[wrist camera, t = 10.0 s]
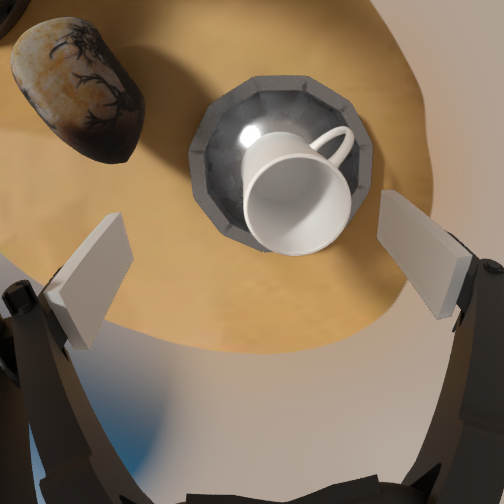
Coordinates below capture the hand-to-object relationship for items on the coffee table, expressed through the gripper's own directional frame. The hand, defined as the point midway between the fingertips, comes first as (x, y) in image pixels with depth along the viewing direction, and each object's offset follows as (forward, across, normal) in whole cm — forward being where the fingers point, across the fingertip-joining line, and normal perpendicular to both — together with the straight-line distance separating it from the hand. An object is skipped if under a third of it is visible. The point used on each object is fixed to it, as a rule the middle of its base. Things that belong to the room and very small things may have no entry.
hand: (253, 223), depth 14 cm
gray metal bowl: (+20, +4, -2) cm, 20 cm away
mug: (+19, +5, -2) cm, 20 cm away
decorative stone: (+20, -14, +10) cm, 26 cm away
